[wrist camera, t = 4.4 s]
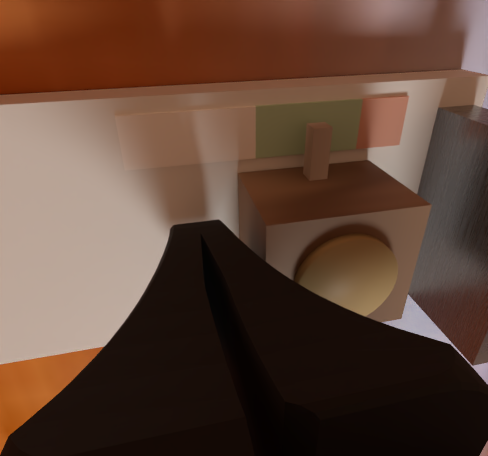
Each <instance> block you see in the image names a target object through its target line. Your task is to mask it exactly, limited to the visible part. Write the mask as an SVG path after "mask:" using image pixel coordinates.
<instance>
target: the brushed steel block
mask: <svg viewBox="0 0 488 456" xmlns="http://www.w3.org/2000/svg"><path fill="white" fill-rule="evenodd" d="M417 195H419V196H420V197H421V198H423V199H424V200H426V201H427V202H428V203H430V204H431V205H432V206H431V210H430V214H429V217H428V221H427V225H426V228H425V232H424V236H423V240H422V243H421V247H420V251H419V254H418V258H417V262H416V266H415V269H414V273H413V277H412V280H411V284H410V288H409V292H408V294H409V295H410V297H411V298H412V299H413V300H414V301H415V302H416V303H417V304H418V305H419V307H420V308H421V309H422V310H423V311H424V312H425V313H426V314H427V315H428V317H429V318H430V319H431V320H432V321H433V322H434V323H435V324H436V325H437V327H438V328H439V329H440V330H441V331H442V332H443V333H444V334H445V335H446V337H447V338H448V339H449V340H450V341H451V342H452V343H453V344H454V345H455V347H456V348H457V349H458V350H459V351H460V352H461V353H462V354H463V355H464V357H465V358H466V359H467V360H468V361H469V362H470V363H471V364H472V365H477V364H482V363H487V362H488V109H486V108H482V107H479V106H476V105H465V106H452V107H438V110H437V114H436V119H435V123H434V127H433V131H432V135H431V139H430V143H429V147H428V151H427V156H426V160H425V164H424V168H423V172H422V176H421V180H420V184H419V188H418V193H417Z"/></svg>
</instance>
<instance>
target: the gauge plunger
mask: <svg viewBox="0 0 488 456" xmlns="http://www.w3.org/2000/svg"><path fill="white" fill-rule="evenodd" d="M332 130H333V127H332V126H330V125H329V124H327V123H326V122H318V123H307V126H306V140H305V154H304V167H294V168H284V169H273V170H263V171H253V172H243V173H238V205H239V239H240V240H241V241H242V242H243V243H244V244H246V245H247V246H248V247H249V248H250V249H251V250H252V251H254V252H255V253H256V254H257V255H258V256H259V257H261V258H262V259H263V260H264V261H266V262H267V263H268V264H270V265H271V266H272V267H274V268H275V269H276V270H278V271H279V272H281V273H282V274H284V275H285V276H287V277H288V278H290V279H291V280H293V281H295V282H296V283H298V284H300V285H301V286H303V287H305V288H306V289H308V290H310V291H312V292H314V293H315V294H317V295H319V296H321V297H323V298H325V299H327V300H329V301H331V302H334V303H336V304H338V305H340V306H342V307H344V308H346V309H348V310H351V311H353V312H356V313H358V314H360V315H363V316H365V317H368V318H371V319H373V320H376V321H378V322H385V321H390V320H396V319H401V318H402V314H403V310H404V306H405V303H406V299H407V295H408V292H409V288H410V284H411V280H412V277H413V273H414V269H415V266H416V262H417V258H418V254H419V251H420V247H421V243H422V240H423V236H424V232H425V228H426V225H427V221H428V217H429V214H430V210H431V206H432V205H431V204H430V203H428V202H427V201H426V200H424V199H423V198H421V197H420V196H419V195H417V194H416V193H414V192H413V191H411V190H410V189H409V188H407V187H406V186H404V185H403V184H402V183H400V182H399V181H397V180H396V179H395V178H393V177H392V176H390V175H389V174H388V173H386V172H385V171H383V170H382V169H380V168H379V167H378V166H376V165H375V164H373V163H372V162H371V161H369V160H364V161H354V162H344V163H334V164H329V158H330V148H331V139H332Z"/></svg>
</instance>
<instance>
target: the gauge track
mask: <svg viewBox="0 0 488 456" xmlns="http://www.w3.org/2000/svg"><path fill="white" fill-rule="evenodd" d="M487 88H488V75H486V74H481V73H476V72H472V71H467V70H463V69H460V70H442V71H424V72H406V73H388V74H370V75H352V76H333V77H315V78H297V79H279V80H261V81H243V82H225V83H207V84H188V85H170V86H152V87H134V88H116V89H98V90H80V91H62V92H44V93H25V94H7V95H0V364H5V363H11V362H17V361H23V360H28V359H34V358H40V357H46V356H52V355H57V354H63V353H69V352H75V351H81V350H86V349H92V348H98V347H104V346H105V345H106V344H107V343H108V342H109V341H110V339H111V338H112V337H113V336H114V334H115V333H116V332H117V331H118V329H119V328H120V327H121V325H122V324H123V323H124V322H125V320H126V319H127V318H128V316H129V315H130V313H131V312H132V310H133V309H134V307H135V306H136V304H137V303H138V301H139V300H140V298H141V296H142V295H143V293H144V292H145V290H146V288H147V286H148V284H149V282H150V280H151V279H152V277H153V275H154V273H155V271H156V269H157V267H158V264H159V262H160V260H161V258H162V255H163V253H164V250H165V247H166V245H167V241H168V238H169V233H170V228H171V227H172V226H173V225H176V224H184V223H193V222H201V221H209V220H218V219H219V220H220V221H222V222H223V223H224V224H225V225H226V226H227V227H228V228H229V229H230V230H231V231H232V232H233V233H234V234H235V235H236V236H237V237H238V238H239V205H238V173H243V172H253V171H263V170H273V169H284V168H294V167H304V154H305V140H306V126H307V123H318V122H326V123H327V124H329V125H330V126H332V127H333V130H332V139H331V148H330V158H329V164H334V163H344V162H354V161H364V160H369V161H371V162H372V163H373V164H375V165H376V166H378V167H379V168H380V169H382V170H383V171H385V172H386V173H388V174H389V175H390V176H392V177H393V178H395V179H396V180H397V181H399V182H400V183H402V184H403V185H404V186H406V187H407V188H409V189H410V190H411V191H413V192H414V193H416V194H417V193H418V188H419V184H420V180H421V176H422V172H423V168H424V164H425V160H426V156H427V151H428V147H429V143H430V139H431V135H432V131H433V127H434V123H435V119H436V114H437V110H438V107H452V106H465V105H476V106H479V107H482V105H483V101H484V98H485V95H486V91H487Z"/></svg>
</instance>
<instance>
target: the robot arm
mask: <svg viewBox="0 0 488 456" xmlns="http://www.w3.org/2000/svg"><path fill="white" fill-rule="evenodd" d="M487 441H488V385H487V384H486V382H485V381H484V380H483V379H482V378H481V377H480V376H479V375H478V373H477V372H476V371H475V370H474V369H473V368H472V367H471V365H470V364H469V363H468V362H467V361H466V360H465V359H464V358H463V357H462V356H461V355H460V354H459V353H458V352H457V351H456V350H455V349H454V348H453V347H452V346H451V344H447V343H444V342H441V341H437V340H434V339H431V338H428V337H424V336H421V335H418V334H414V333H411V332H408V331H404V330H401V329H398V328H395V327H392V326H389V325H386V324H384V323H381V322H378V321H376V320H373V319H371V318H368V317H365V316H363V315H360V314H358V313H356V312H353V311H351V310H348V309H346V308H344V307H342V306H340V305H338V304H336V303H334V302H331V301H329V300H327V299H325V298H323V297H321V296H319V295H317V294H315V293H314V292H312V291H310V290H308V289H306V288H305V287H303V286H301V285H300V284H298V283H296V282H295V281H293V280H291V279H290V278H288V277H287V276H285V275H284V274H282V273H281V272H279V271H278V270H276V269H275V268H274V267H272V266H271V265H270V264H268V263H267V262H266V261H264V260H263V259H262V258H261V257H259V256H258V255H257V254H256V253H255V252H254V251H252V250H251V249H250V248H249V247H248V246H247V245H246V244H244V243H243V242H242V241H241V240H240V239H239V238H238V237H237V236H236V235H235V234H234V233H233V232H232V231H231V230H230V229H229V228H228V227H227V226H226V225H225V224H224V223H223V222H222V221H220V220H219V219H218V220H209V221H201V222H193V223H184V224H176V225H173V226H172V227H171V228H170V233H169V238H168V241H167V245H166V247H165V250H164V253H163V255H162V258H161V260H160V262H159V264H158V267H157V269H156V271H155V273H154V275H153V277H152V279H151V280H150V282H149V284H148V286H147V288H146V290H145V292H144V293H143V295H142V296H141V298H140V300H139V301H138V303H137V304H136V306H135V307H134V309H133V310H132V312H131V313H130V315H129V316H128V318H127V319H126V320H125V322H124V323H123V324H122V325H121V327H120V328H119V329H118V331H117V332H116V333H115V334H114V336H113V337H112V338H111V339H110V341H109V342H108V343H107V344H106V345H105V347H104V348H103V349H102V350H101V351H100V352H99V353H98V354H97V356H96V357H95V358H94V359H93V360H92V361H91V362H90V363H89V364H88V365H87V366H86V367H85V368H84V369H83V370H82V371H81V372H80V373H79V374H78V375H77V376H76V377H75V378H74V379H73V380H72V381H71V382H70V383H69V384H68V385H67V386H66V387H65V388H64V389H63V390H62V391H61V392H60V393H59V394H58V395H56V396H55V397H54V398H53V399H52V400H51V401H50V402H48V403H47V404H46V405H45V406H44V407H43V408H41V409H40V410H39V411H38V412H37V413H36V414H34V415H33V416H32V417H31V418H30V419H29V420H28V421H26V422H25V423H24V424H23V425H22V426H20V427H19V428H18V429H17V430H16V431H14V432H13V433H12V434H11V435H10V436H9V437H8V439H7V441H6V443H5V445H4V448H3V450H2V452H1V454H0V456H479V455H480V453H481V452H482V450H483V448H484V446H485V444H486V442H487Z"/></svg>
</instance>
